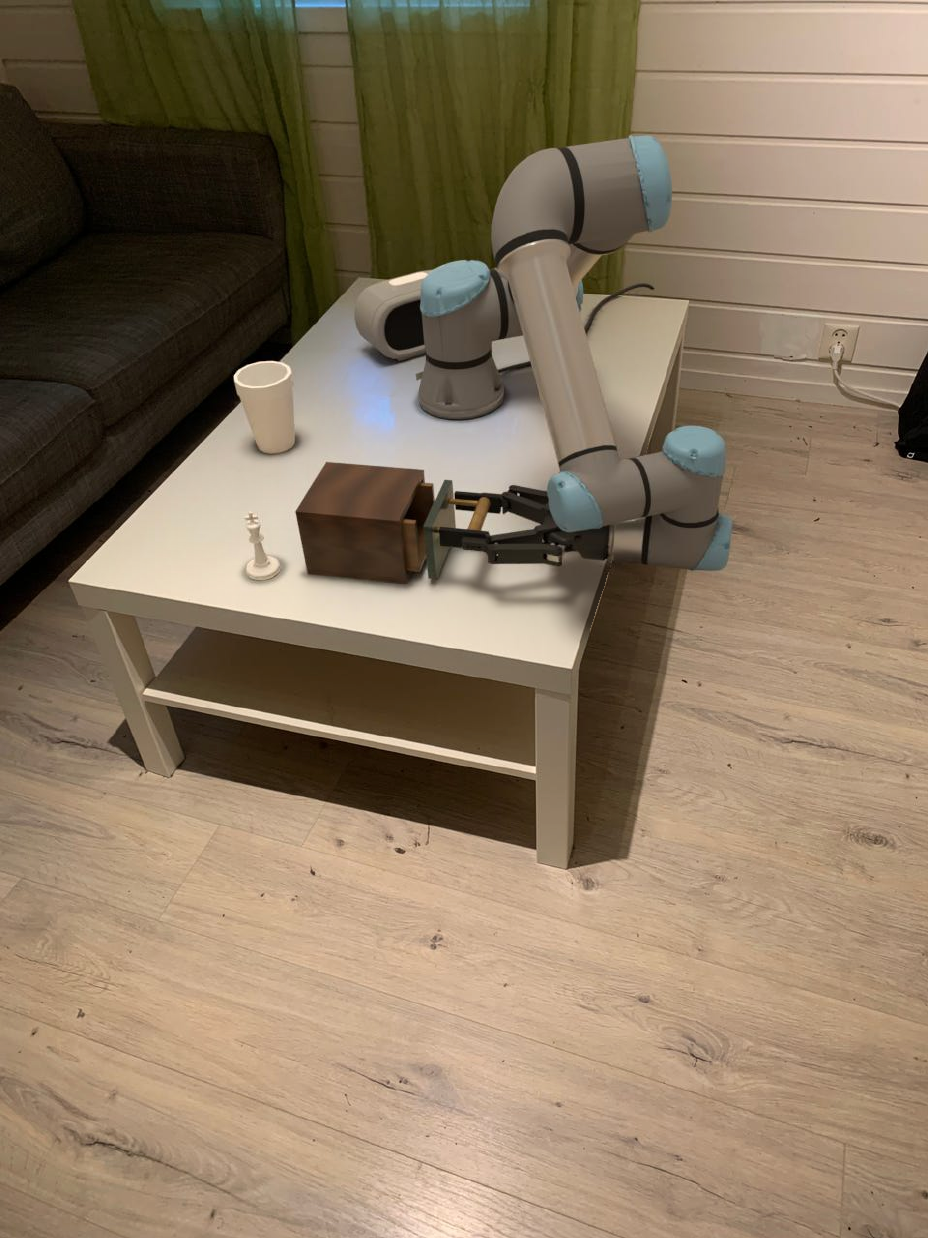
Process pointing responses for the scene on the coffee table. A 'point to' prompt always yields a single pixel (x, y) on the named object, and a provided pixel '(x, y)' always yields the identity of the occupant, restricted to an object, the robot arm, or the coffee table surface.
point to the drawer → (434, 525)
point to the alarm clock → (393, 316)
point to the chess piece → (259, 554)
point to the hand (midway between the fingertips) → (448, 517)
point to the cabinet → (357, 521)
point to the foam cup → (268, 403)
